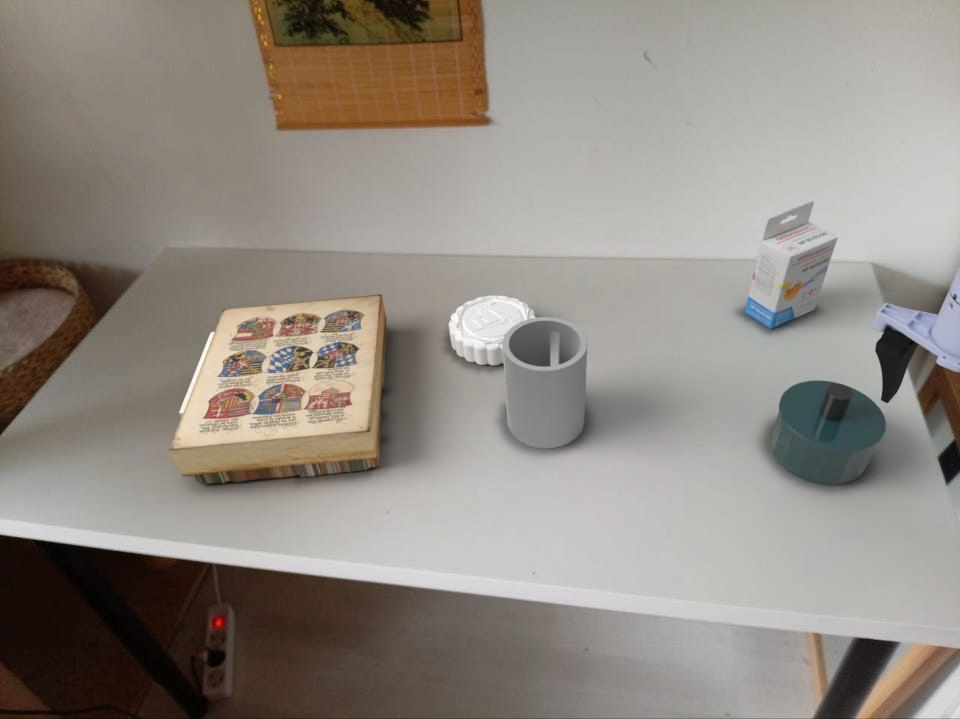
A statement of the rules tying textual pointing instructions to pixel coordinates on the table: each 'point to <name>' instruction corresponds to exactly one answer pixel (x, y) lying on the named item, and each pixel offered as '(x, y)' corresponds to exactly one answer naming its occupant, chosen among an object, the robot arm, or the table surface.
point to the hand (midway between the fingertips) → (930, 415)
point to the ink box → (789, 268)
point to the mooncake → (485, 327)
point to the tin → (816, 459)
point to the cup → (545, 382)
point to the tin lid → (832, 416)
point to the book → (286, 392)
